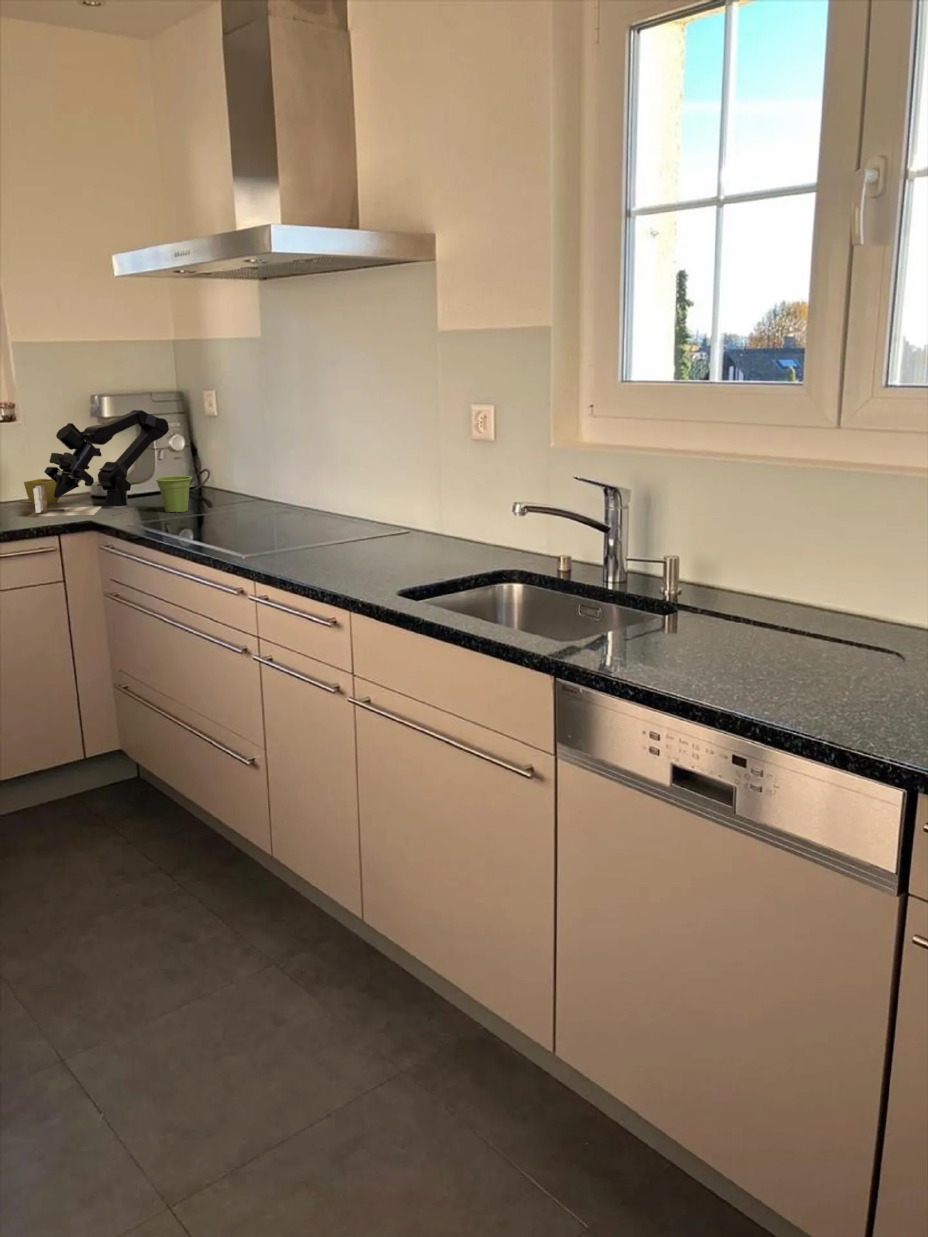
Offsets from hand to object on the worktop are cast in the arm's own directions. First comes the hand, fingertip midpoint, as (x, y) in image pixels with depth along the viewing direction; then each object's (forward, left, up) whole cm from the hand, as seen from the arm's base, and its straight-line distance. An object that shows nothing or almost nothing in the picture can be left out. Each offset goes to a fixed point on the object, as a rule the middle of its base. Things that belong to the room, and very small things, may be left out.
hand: (55, 497), depth 326 cm
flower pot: (+9, -29, -7) cm, 31 cm away
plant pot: (-37, -6, -7) cm, 38 cm away
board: (-2, -6, -7) cm, 9 cm away
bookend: (+2, +1, -5) cm, 6 cm away
